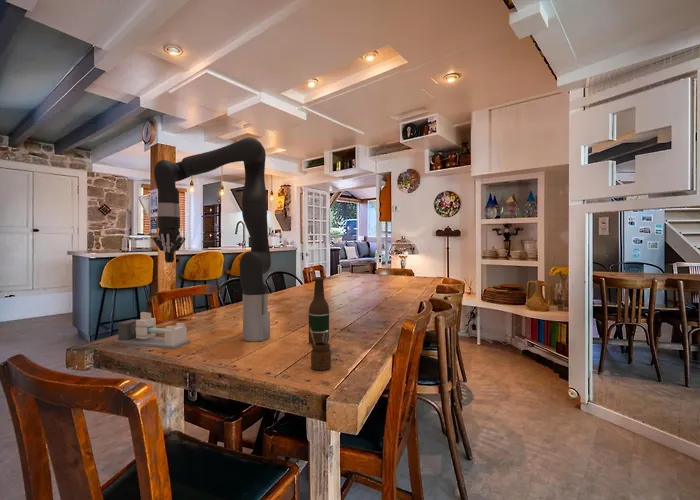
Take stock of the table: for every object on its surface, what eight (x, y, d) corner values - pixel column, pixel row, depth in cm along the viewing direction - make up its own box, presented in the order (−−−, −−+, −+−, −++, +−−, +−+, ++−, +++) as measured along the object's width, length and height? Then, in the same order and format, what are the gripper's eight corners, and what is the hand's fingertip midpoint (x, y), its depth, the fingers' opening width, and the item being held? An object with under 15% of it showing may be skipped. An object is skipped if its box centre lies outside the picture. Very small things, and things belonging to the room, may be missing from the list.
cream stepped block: (155, 335, 128) (155, 311, 128) (145, 338, 124) (144, 314, 124) (147, 334, 129) (146, 311, 129) (136, 337, 125) (135, 313, 125)
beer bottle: (333, 340, 129) (333, 276, 128) (323, 346, 122) (323, 279, 121) (315, 338, 132) (315, 275, 132) (304, 343, 125) (304, 277, 124)
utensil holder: (331, 370, 100) (331, 329, 100) (309, 371, 99) (309, 329, 99) (330, 363, 106) (330, 324, 105) (310, 363, 105) (310, 324, 105)
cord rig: (190, 342, 126) (190, 322, 126) (173, 348, 119) (173, 328, 118) (133, 336, 133) (133, 318, 133) (114, 342, 126) (114, 322, 125)
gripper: (191, 216, 130) (191, 262, 131) (162, 216, 134) (162, 261, 134) (176, 215, 123) (176, 263, 124) (146, 215, 127) (146, 262, 127)
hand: (169, 262), depth 129 cm, fingers closed
